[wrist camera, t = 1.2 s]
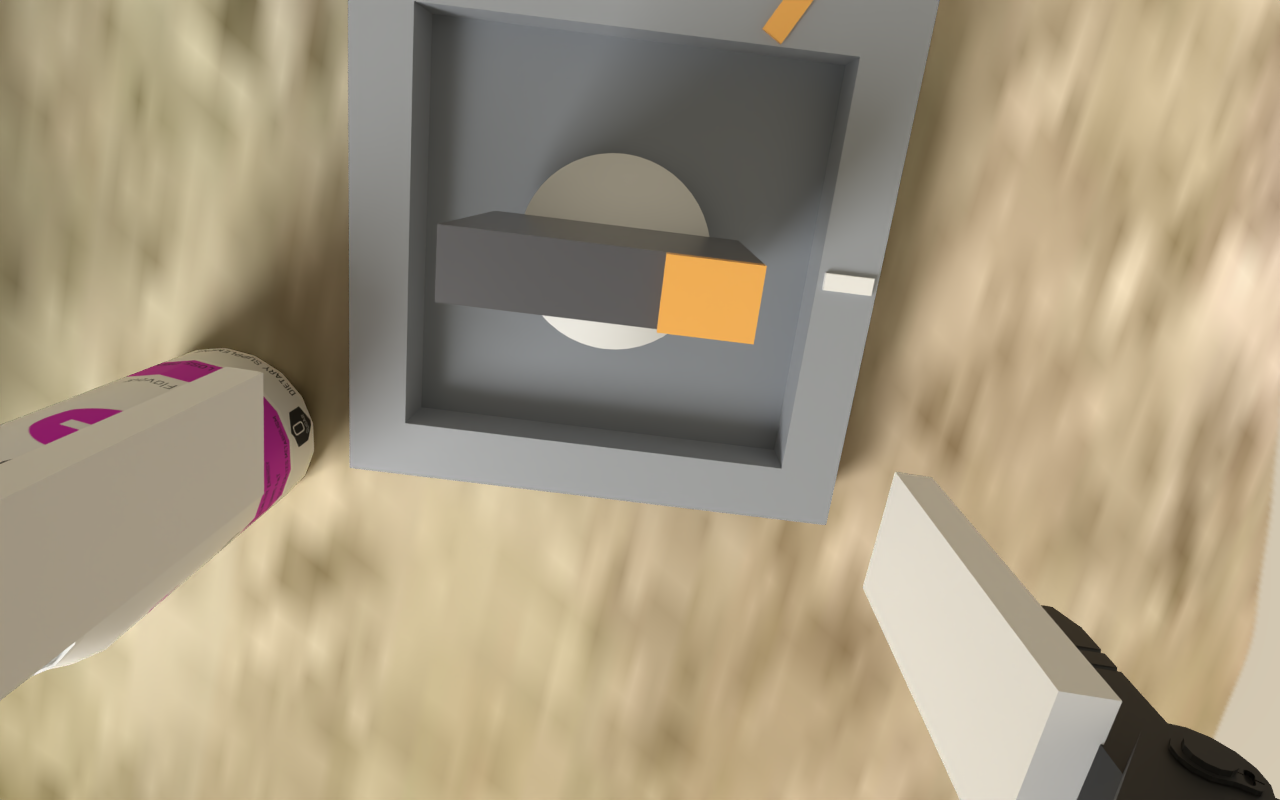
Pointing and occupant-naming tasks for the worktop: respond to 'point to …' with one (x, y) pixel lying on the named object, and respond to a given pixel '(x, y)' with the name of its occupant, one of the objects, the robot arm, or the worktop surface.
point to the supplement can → (282, 402)
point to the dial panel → (693, 152)
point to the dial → (605, 259)
